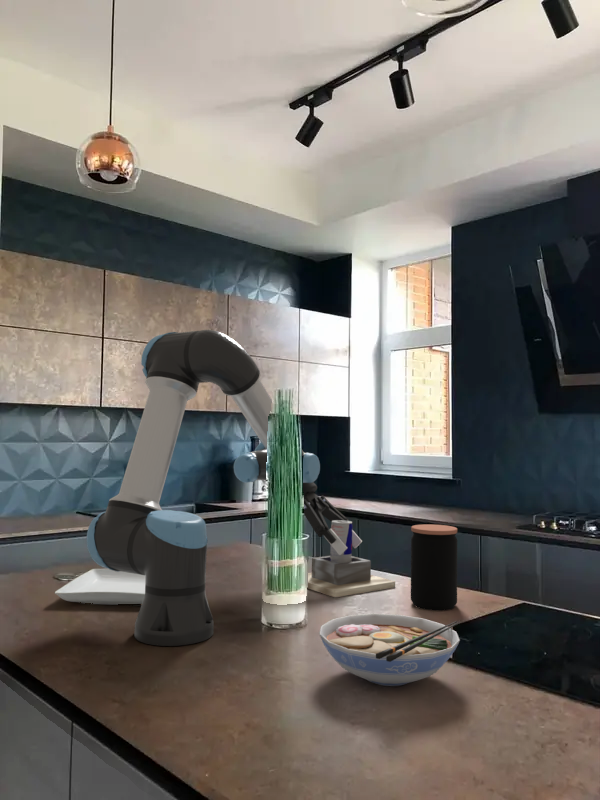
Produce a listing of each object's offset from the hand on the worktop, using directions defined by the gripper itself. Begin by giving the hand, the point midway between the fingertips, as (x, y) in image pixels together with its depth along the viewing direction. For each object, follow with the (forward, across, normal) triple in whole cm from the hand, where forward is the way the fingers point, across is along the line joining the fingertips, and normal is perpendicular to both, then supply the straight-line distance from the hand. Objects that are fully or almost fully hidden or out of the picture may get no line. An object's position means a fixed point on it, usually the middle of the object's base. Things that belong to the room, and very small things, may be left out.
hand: (351, 548), depth 174 cm
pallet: (+5, 0, -9) cm, 10 cm away
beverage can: (+4, 0, -8) cm, 9 cm away
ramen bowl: (+27, +59, +13) cm, 66 cm away
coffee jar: (+24, +10, +10) cm, 28 cm away
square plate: (-25, +33, -39) cm, 57 cm away
